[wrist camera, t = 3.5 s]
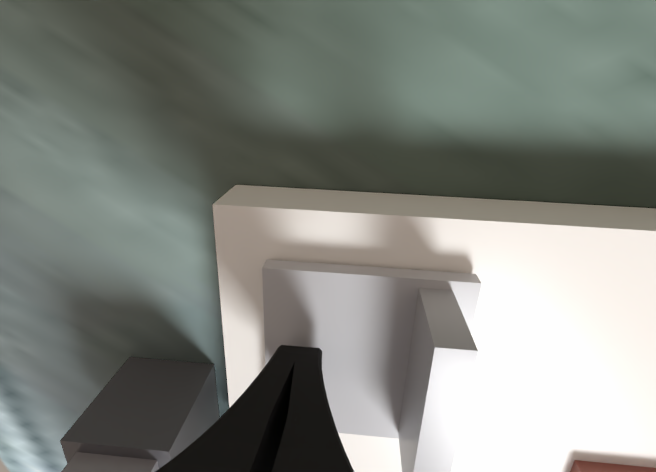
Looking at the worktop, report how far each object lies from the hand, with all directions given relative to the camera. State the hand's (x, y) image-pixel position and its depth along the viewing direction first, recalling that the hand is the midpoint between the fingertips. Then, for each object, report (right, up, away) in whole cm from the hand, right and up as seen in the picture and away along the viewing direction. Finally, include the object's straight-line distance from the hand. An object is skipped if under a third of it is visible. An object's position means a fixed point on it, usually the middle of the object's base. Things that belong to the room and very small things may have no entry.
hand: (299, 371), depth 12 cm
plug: (-6, -3, +6) cm, 9 cm away
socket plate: (+6, 0, +4) cm, 7 cm away
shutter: (+2, 0, +1) cm, 2 cm away
